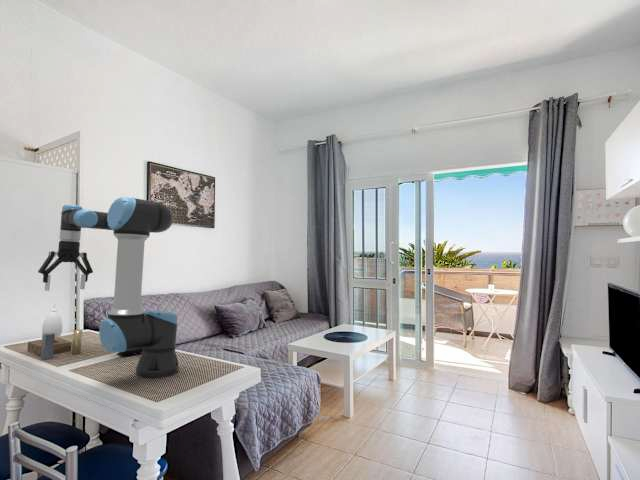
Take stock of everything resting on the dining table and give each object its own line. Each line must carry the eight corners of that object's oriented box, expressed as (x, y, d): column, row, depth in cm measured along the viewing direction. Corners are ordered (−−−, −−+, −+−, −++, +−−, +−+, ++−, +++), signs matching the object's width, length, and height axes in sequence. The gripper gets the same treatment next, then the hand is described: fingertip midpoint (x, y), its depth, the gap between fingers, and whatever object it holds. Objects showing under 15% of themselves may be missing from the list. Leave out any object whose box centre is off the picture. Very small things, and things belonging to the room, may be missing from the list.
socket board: (70, 351, 165) (71, 342, 165) (38, 356, 155) (39, 346, 155) (58, 346, 172) (59, 337, 172) (27, 351, 162) (28, 341, 162)
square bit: (52, 358, 154) (54, 333, 154) (43, 360, 151) (45, 335, 151) (49, 357, 155) (51, 332, 156) (40, 358, 153) (42, 333, 153)
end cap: (121, 358, 160) (122, 342, 160) (114, 354, 164) (116, 339, 164) (145, 354, 167) (146, 339, 167) (138, 351, 172) (139, 336, 172)
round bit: (81, 353, 163) (83, 330, 163) (73, 355, 160) (75, 331, 160) (78, 352, 164) (80, 329, 165) (70, 353, 162) (72, 330, 162)
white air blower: (40, 341, 179) (43, 303, 180) (59, 339, 184) (62, 302, 185) (42, 344, 173) (45, 305, 174) (62, 342, 179) (65, 304, 179)
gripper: (95, 242, 175) (91, 287, 175) (31, 238, 155) (27, 290, 154) (103, 242, 171) (99, 289, 170) (39, 239, 151) (34, 292, 150)
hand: (65, 289), depth 162 cm, fingers open, 13 cm apart
